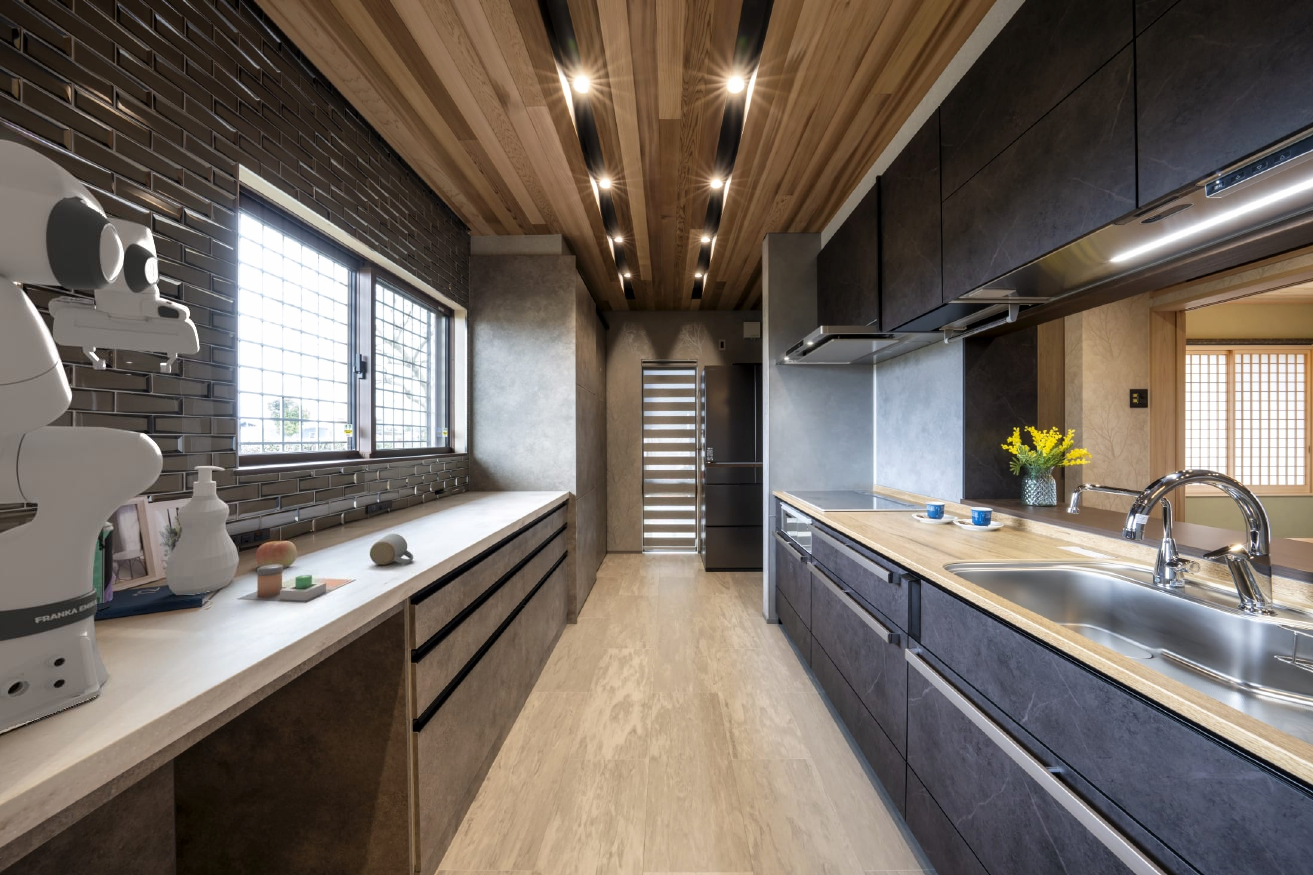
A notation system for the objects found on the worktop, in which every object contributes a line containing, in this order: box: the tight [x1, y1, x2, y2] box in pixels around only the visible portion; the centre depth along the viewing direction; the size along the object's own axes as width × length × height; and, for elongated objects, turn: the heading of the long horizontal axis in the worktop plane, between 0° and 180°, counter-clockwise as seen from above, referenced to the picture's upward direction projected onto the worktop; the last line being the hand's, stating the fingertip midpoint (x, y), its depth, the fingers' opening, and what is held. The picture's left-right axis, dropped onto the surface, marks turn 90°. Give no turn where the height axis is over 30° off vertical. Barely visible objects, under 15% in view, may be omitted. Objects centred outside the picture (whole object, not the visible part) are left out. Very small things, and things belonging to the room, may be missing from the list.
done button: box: [295, 574, 313, 589], centre depth 109 cm, size 3×3×2 cm
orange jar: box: [256, 565, 284, 597], centre depth 110 cm, size 5×5×6 cm
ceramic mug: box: [369, 533, 414, 566], centre depth 141 cm, size 11×8×8 cm
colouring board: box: [237, 576, 356, 604], centre depth 114 cm, size 16×16×3 cm
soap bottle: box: [164, 465, 240, 596], centre depth 113 cm, size 17×12×29 cm
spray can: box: [93, 521, 114, 604], centre depth 101 cm, size 6×6×20 cm
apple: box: [255, 540, 298, 569], centre depth 131 cm, size 9×9×8 cm
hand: (133, 370), depth 101 cm, fingers open, 8 cm apart
